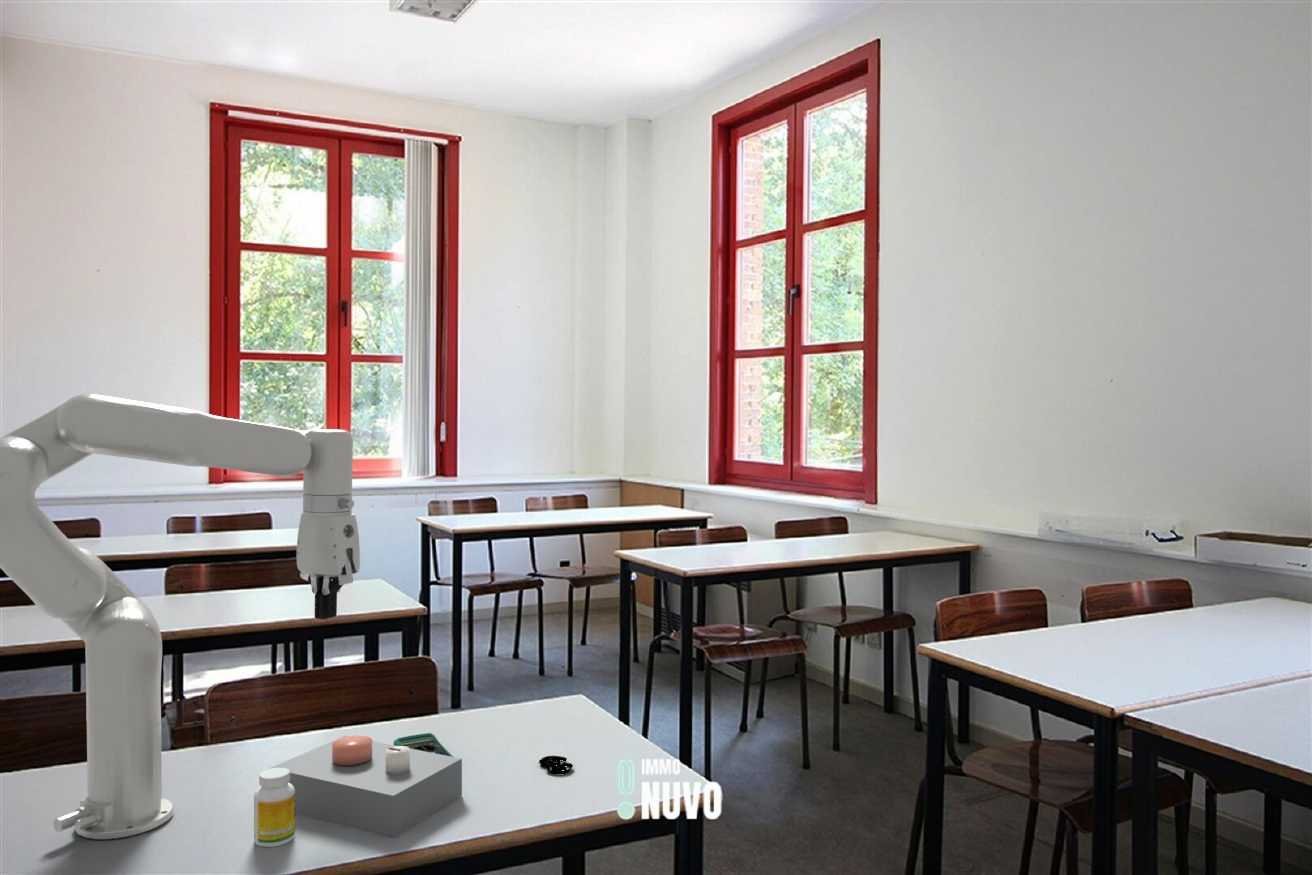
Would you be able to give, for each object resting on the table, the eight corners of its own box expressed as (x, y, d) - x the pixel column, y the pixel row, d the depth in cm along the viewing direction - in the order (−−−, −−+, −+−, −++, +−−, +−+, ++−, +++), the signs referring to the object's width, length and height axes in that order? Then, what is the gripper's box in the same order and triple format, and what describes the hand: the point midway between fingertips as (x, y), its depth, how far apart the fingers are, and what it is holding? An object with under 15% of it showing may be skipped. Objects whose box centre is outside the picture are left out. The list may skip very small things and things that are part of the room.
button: (353, 784, 144) (353, 751, 144) (323, 777, 146) (323, 745, 146) (380, 770, 149) (380, 739, 149) (351, 764, 152) (351, 733, 152)
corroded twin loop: (550, 779, 157) (549, 773, 157) (534, 763, 164) (534, 757, 164) (578, 774, 159) (578, 768, 159) (561, 758, 166) (561, 752, 166)
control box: (393, 837, 134) (393, 795, 134) (270, 806, 145) (269, 767, 144) (461, 796, 149) (461, 758, 149) (345, 771, 159) (345, 735, 159)
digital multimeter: (414, 781, 156) (414, 763, 156) (392, 752, 169) (392, 736, 169) (457, 773, 159) (457, 756, 159) (433, 746, 172) (433, 730, 172)
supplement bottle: (247, 839, 133) (247, 772, 133) (284, 827, 137) (284, 762, 137) (264, 852, 130) (264, 783, 129) (302, 839, 134) (301, 772, 133)
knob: (399, 775, 142) (399, 754, 142) (380, 771, 143) (380, 750, 143) (414, 767, 145) (414, 746, 145) (396, 763, 146) (396, 743, 146)
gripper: (378, 506, 153) (376, 618, 154) (312, 501, 160) (311, 608, 160) (343, 509, 147) (341, 627, 147) (276, 503, 154) (274, 616, 154)
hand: (325, 617), depth 154 cm, fingers closed
